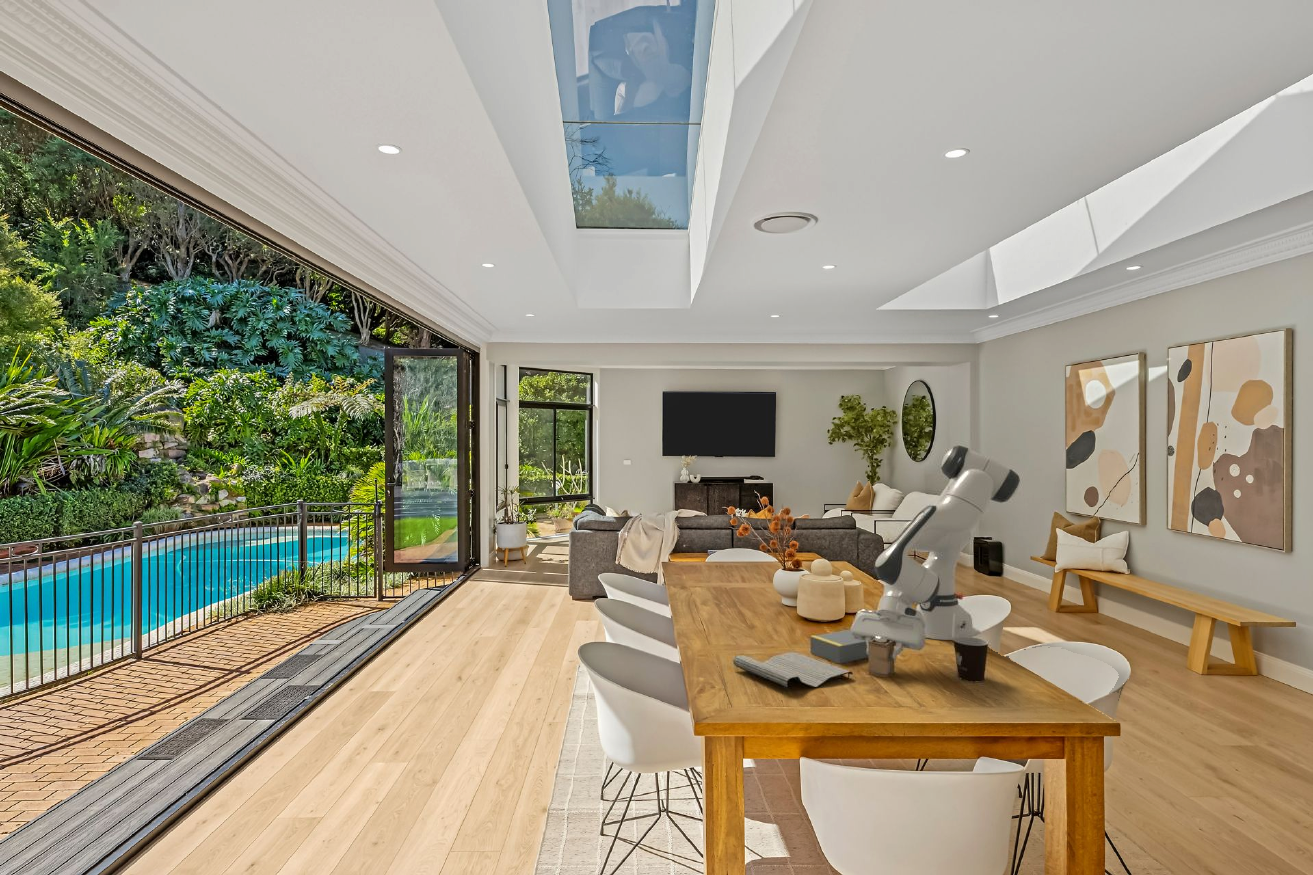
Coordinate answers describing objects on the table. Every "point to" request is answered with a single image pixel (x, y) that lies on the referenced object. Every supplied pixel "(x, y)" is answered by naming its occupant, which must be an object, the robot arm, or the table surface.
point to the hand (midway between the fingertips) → (880, 656)
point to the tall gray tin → (880, 658)
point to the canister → (881, 639)
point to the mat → (791, 669)
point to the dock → (838, 647)
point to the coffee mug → (970, 658)
